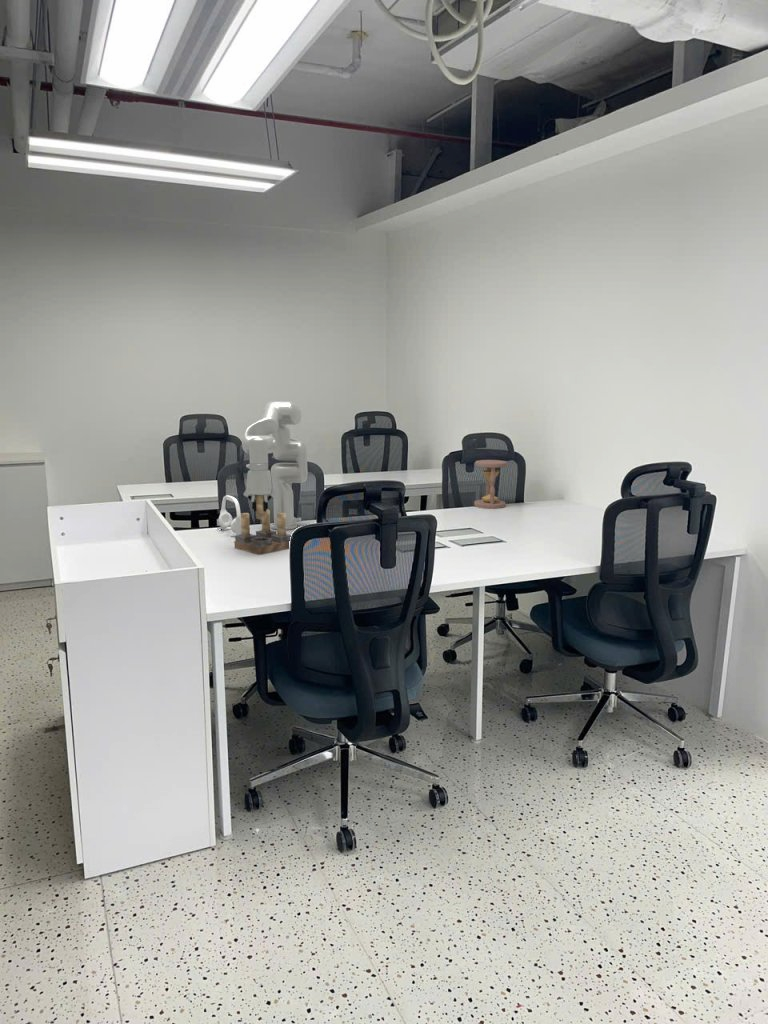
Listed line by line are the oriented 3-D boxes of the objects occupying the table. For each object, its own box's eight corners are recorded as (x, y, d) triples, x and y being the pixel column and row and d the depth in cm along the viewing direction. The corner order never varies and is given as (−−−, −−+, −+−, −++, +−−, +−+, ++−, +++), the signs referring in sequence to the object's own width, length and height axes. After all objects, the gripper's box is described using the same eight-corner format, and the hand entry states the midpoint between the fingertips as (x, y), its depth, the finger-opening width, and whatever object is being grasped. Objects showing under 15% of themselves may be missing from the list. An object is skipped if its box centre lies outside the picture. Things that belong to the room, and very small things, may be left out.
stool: (267, 540, 338) (266, 508, 336) (293, 547, 326) (292, 513, 323) (234, 547, 326) (233, 513, 323) (260, 554, 314) (259, 519, 311)
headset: (246, 536, 348) (245, 498, 344) (232, 538, 344) (231, 499, 340) (230, 528, 364) (229, 492, 361) (216, 530, 360) (214, 493, 357)
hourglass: (505, 509, 414) (506, 464, 409) (473, 508, 417) (474, 463, 412) (505, 503, 431) (507, 460, 426) (475, 502, 434) (476, 459, 429)
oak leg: (254, 518, 315) (253, 489, 313) (261, 517, 318) (260, 489, 316) (259, 519, 313) (258, 490, 310) (266, 518, 315) (265, 489, 313)
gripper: (237, 468, 307) (238, 512, 311) (278, 468, 308) (279, 512, 311) (240, 466, 315) (241, 509, 318) (280, 466, 315) (281, 509, 319)
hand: (260, 510), depth 315 cm, fingers closed on oak leg, 3 cm apart
